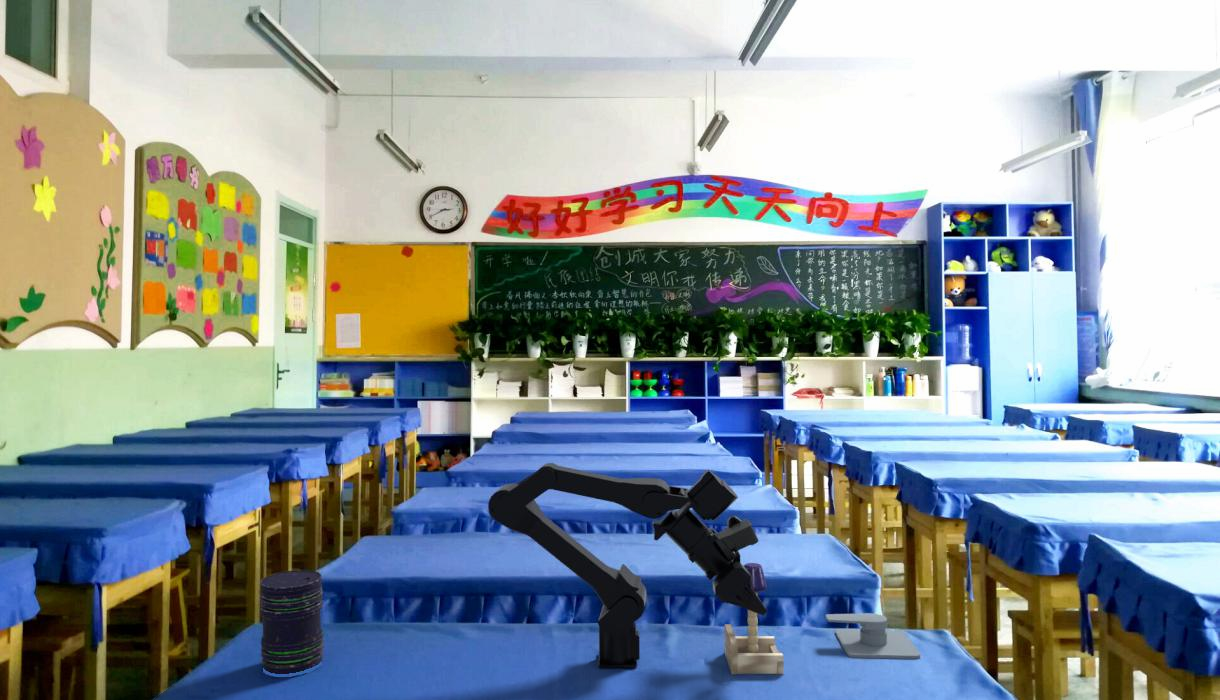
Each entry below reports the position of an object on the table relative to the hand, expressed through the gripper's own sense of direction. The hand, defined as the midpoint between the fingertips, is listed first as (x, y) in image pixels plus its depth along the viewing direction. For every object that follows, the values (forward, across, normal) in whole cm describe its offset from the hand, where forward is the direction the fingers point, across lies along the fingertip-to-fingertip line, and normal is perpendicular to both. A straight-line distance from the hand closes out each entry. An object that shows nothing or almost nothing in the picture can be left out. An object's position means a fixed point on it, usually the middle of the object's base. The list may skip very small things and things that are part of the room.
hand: (760, 603), depth 141 cm
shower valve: (+22, +8, -7) cm, 25 cm away
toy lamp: (+6, 0, +8) cm, 10 cm away
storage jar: (-49, -1, +63) cm, 80 cm away
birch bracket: (+6, 0, +8) cm, 10 cm away
